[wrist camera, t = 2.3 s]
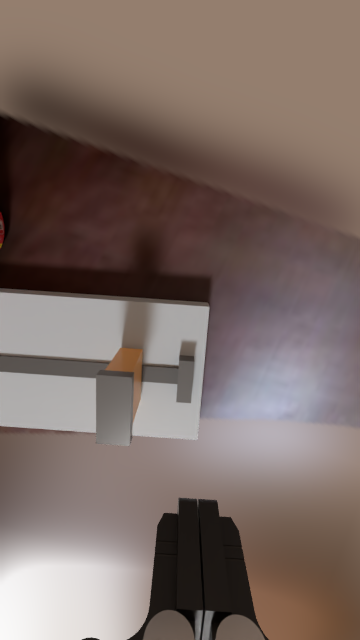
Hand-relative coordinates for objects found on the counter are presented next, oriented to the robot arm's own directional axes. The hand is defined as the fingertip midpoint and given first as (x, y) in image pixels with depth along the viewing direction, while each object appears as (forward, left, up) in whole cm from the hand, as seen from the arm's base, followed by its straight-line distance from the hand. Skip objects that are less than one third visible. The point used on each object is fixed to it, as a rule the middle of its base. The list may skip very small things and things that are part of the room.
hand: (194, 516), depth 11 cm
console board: (+11, 0, -15) cm, 19 cm away
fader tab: (+5, 0, -13) cm, 14 cm away
